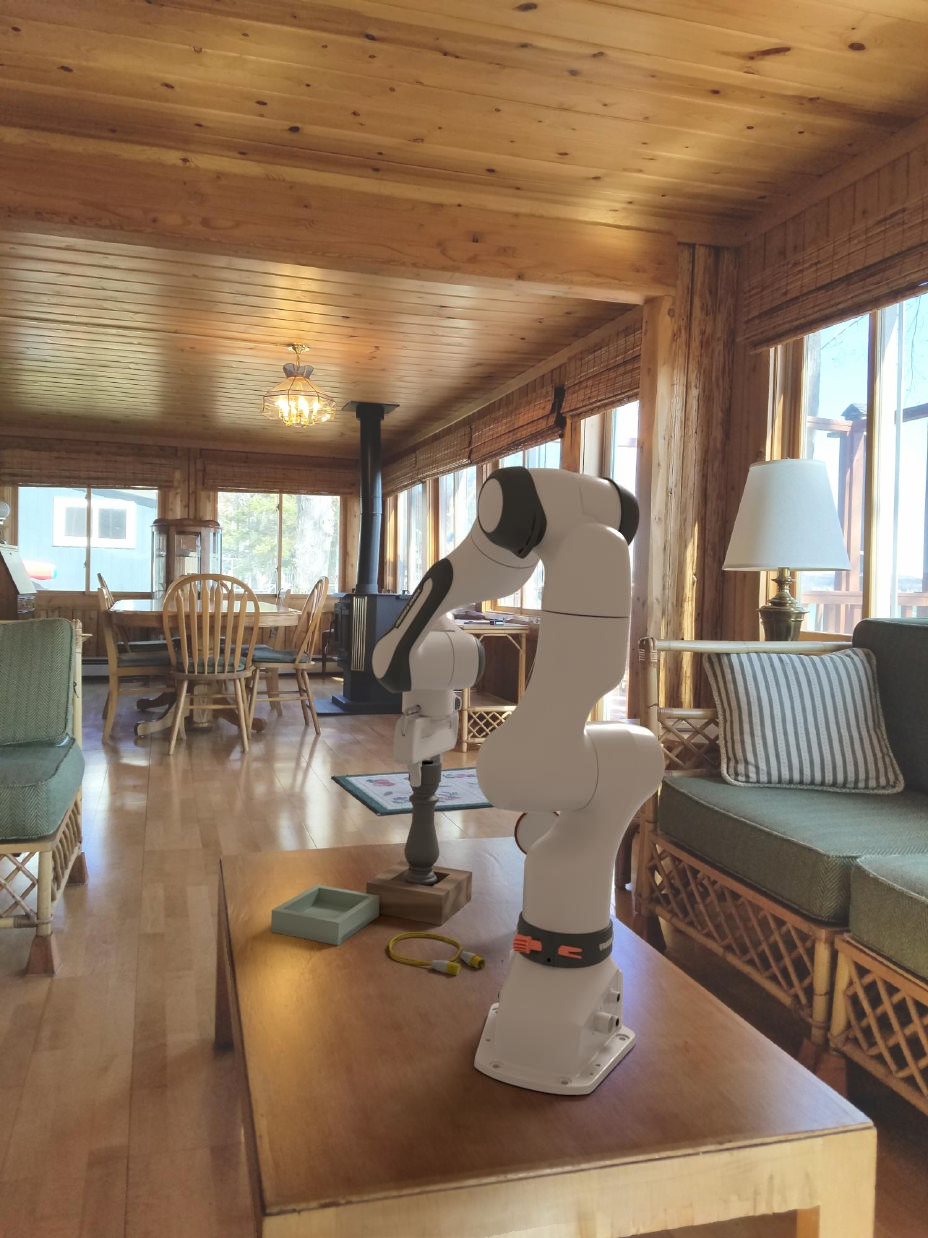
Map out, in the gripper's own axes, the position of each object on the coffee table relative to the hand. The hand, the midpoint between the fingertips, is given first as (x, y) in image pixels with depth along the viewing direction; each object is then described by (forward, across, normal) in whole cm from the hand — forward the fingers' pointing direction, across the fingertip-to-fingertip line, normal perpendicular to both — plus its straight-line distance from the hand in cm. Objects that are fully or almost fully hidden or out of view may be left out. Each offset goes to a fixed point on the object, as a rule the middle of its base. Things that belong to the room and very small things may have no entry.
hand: (424, 782), depth 156 cm
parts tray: (+22, -15, +10) cm, 28 cm away
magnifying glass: (+22, 0, -21) cm, 30 cm away
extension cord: (+22, -19, -10) cm, 31 cm away
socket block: (+22, 0, 0) cm, 22 cm away
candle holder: (+22, 0, 0) cm, 22 cm away
